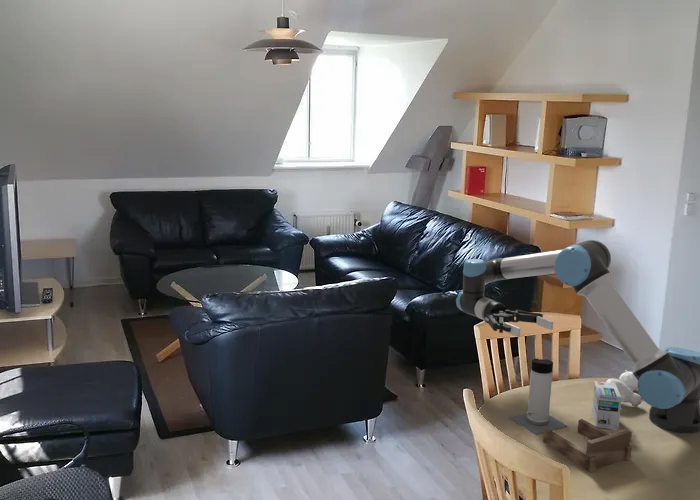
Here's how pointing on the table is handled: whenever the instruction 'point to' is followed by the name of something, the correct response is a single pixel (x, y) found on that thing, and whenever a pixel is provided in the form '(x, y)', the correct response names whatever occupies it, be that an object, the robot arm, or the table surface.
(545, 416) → the travel mug
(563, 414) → the table surface
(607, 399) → the light bulb box
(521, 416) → the grey mat
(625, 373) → the ornament
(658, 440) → the table surface
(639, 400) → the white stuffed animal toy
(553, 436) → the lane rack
